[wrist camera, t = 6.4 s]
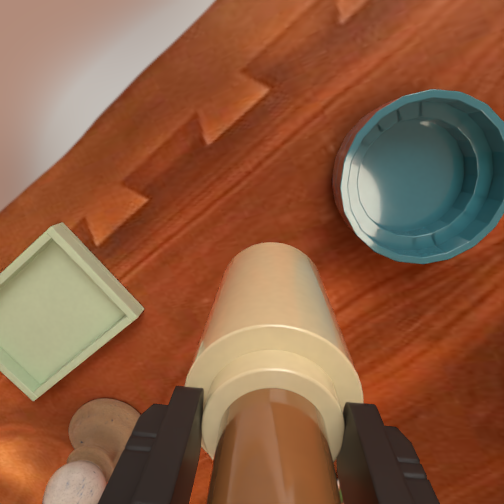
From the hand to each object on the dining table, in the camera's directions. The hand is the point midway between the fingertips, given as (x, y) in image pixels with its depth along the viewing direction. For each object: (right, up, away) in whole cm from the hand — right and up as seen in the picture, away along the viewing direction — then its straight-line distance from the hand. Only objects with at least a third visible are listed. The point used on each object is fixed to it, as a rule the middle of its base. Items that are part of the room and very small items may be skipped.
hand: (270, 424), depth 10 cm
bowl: (+13, +11, +24) cm, 30 cm away
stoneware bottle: (0, +3, +9) cm, 10 cm away
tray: (-21, -2, +29) cm, 36 cm away
